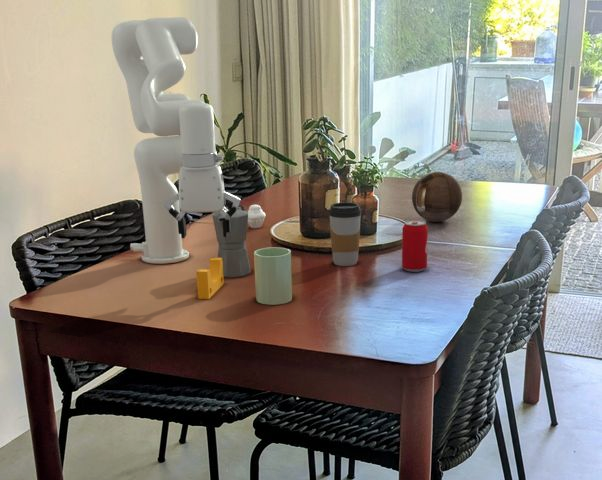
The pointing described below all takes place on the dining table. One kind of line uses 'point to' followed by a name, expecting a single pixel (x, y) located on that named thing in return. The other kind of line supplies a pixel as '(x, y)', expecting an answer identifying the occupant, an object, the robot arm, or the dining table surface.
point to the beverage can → (414, 245)
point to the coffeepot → (233, 242)
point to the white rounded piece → (255, 216)
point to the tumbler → (273, 275)
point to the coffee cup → (345, 232)
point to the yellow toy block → (210, 279)
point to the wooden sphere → (437, 196)
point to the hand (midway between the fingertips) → (204, 236)
